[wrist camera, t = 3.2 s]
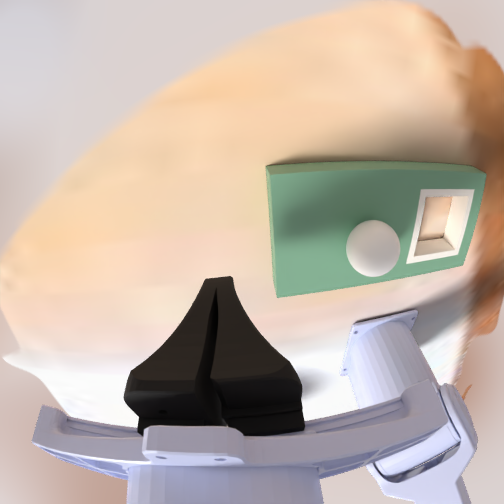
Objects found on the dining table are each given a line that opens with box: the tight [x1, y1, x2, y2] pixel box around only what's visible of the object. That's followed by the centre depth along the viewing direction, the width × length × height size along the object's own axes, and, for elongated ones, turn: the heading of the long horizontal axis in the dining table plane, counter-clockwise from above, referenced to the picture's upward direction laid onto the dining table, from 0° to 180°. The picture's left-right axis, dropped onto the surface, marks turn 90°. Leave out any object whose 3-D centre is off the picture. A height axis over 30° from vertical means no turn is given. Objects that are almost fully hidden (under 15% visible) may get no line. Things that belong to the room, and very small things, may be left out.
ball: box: [346, 220, 400, 277], centre depth 16 cm, size 4×4×4 cm
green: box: [266, 161, 487, 298], centre depth 18 cm, size 9×18×2 cm, turn 95°
